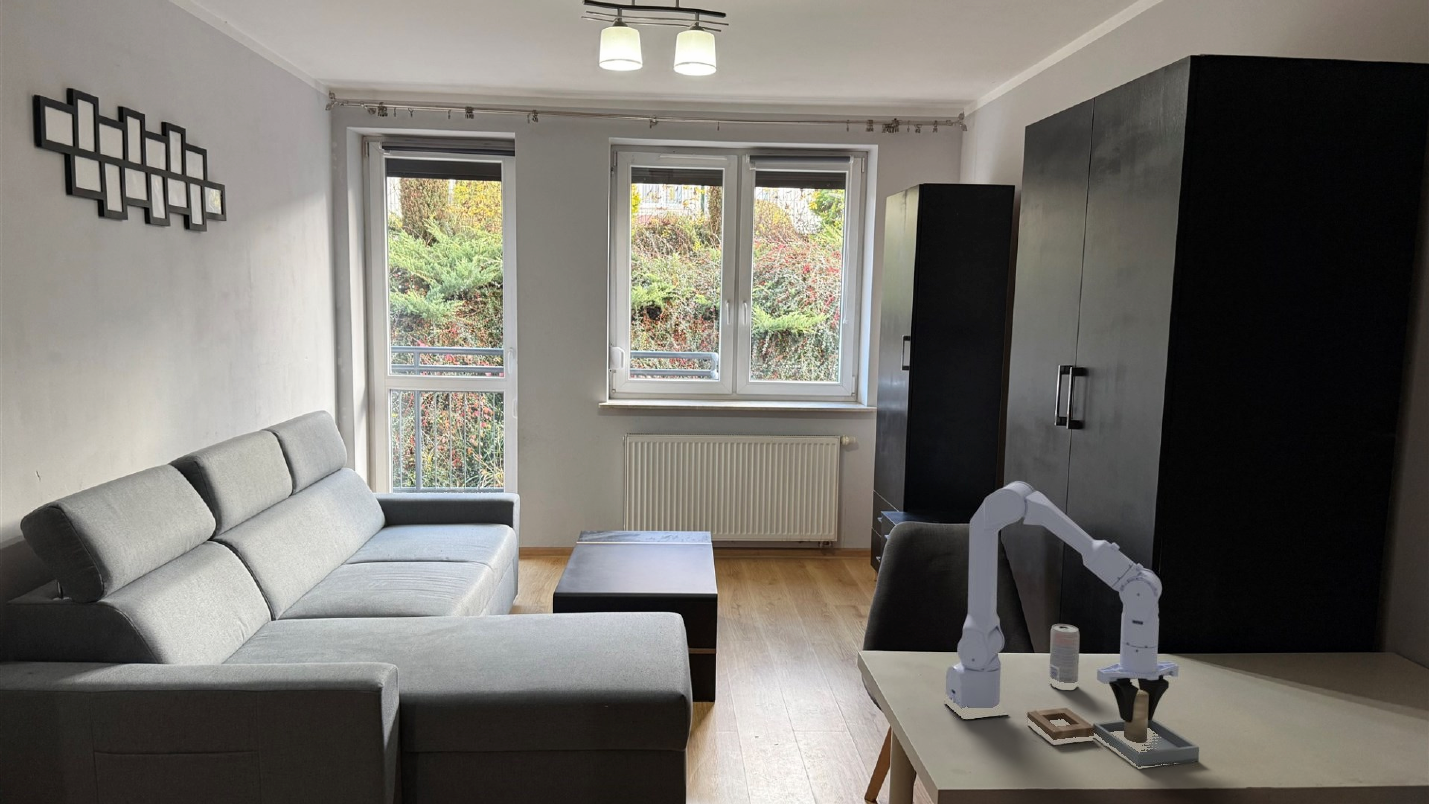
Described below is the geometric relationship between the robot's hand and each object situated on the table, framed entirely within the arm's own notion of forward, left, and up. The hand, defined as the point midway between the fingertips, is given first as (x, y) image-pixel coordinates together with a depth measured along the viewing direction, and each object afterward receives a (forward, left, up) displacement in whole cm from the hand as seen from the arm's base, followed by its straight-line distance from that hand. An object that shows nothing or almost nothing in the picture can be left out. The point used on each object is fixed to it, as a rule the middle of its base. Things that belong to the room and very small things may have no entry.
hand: (1136, 718), depth 151 cm
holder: (-9, +7, -5) cm, 13 cm away
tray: (+1, -1, -5) cm, 5 cm away
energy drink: (+4, +25, -5) cm, 26 cm away
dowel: (0, 0, -3) cm, 3 cm away
